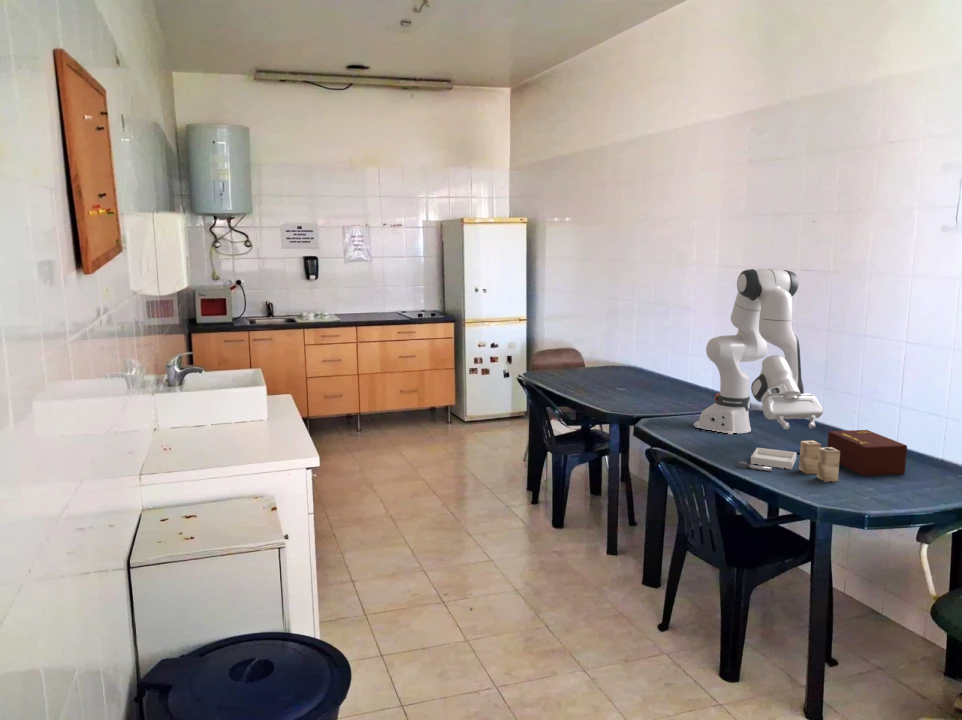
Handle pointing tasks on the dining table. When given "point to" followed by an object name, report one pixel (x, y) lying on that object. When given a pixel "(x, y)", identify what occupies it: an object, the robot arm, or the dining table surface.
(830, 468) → the large-bore block
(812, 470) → the small-bore block
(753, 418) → the dining table surface
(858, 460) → the box
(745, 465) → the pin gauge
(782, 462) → the tray
